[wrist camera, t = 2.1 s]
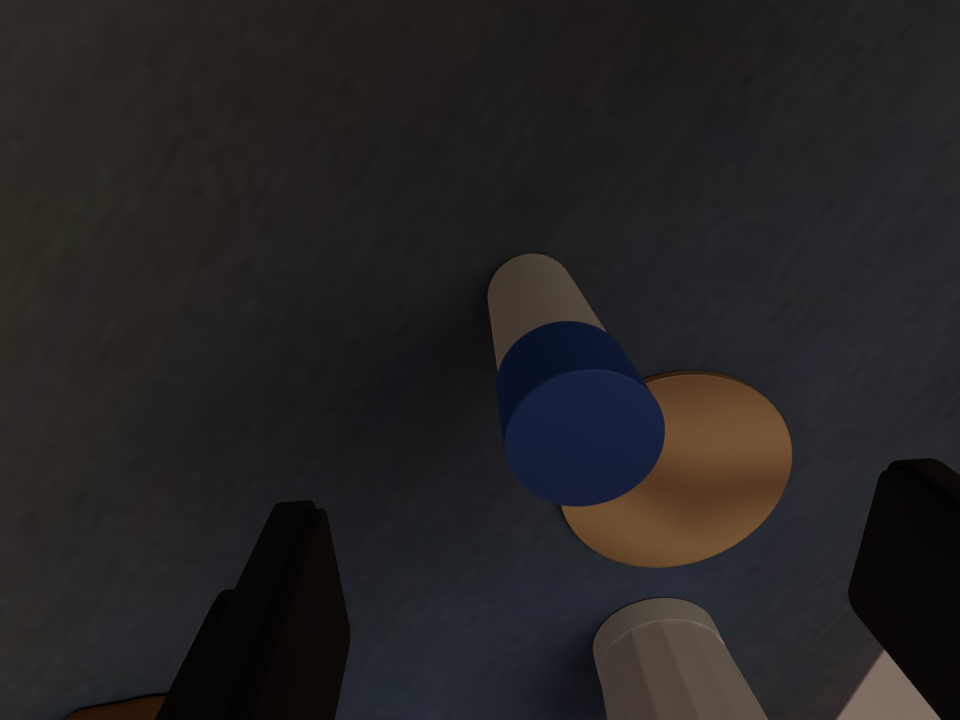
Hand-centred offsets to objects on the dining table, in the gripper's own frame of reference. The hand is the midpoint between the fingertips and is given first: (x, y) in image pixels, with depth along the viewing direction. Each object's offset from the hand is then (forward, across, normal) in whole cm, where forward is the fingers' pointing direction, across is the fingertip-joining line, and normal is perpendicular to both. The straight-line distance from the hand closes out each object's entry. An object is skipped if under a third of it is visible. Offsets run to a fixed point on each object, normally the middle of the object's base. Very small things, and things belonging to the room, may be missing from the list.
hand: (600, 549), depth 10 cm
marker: (+13, 0, -1) cm, 13 cm away
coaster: (+13, -6, +8) cm, 16 cm away
